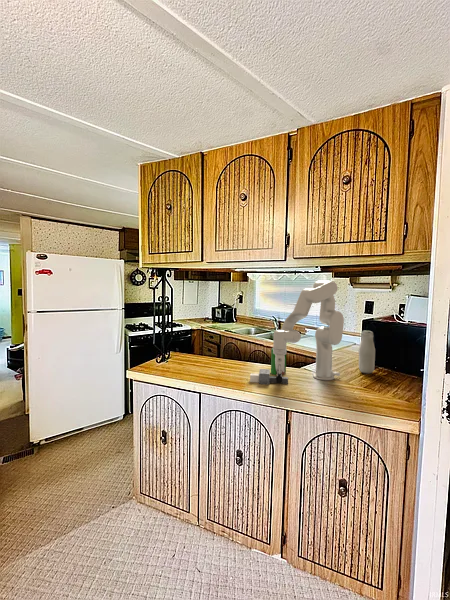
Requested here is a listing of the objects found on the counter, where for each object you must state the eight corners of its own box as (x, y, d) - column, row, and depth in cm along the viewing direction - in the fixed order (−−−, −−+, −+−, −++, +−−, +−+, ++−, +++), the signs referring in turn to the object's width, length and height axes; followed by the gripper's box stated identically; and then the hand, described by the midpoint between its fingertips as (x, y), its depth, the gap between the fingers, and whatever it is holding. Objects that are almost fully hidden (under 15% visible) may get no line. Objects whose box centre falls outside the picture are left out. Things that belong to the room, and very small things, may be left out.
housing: (269, 379, 201) (269, 369, 201) (269, 384, 191) (269, 374, 191) (259, 378, 202) (259, 368, 202) (258, 384, 192) (259, 373, 192)
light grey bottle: (373, 371, 220) (374, 329, 218) (375, 375, 210) (377, 332, 209) (357, 370, 223) (358, 328, 221) (358, 374, 213) (360, 331, 211)
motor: (280, 375, 209) (280, 344, 207) (267, 373, 214) (268, 342, 213) (287, 372, 217) (288, 342, 215) (275, 370, 222) (276, 340, 221)
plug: (287, 381, 197) (287, 375, 196) (288, 383, 193) (288, 377, 192) (250, 379, 200) (250, 373, 200) (250, 381, 196) (250, 375, 196)
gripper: (286, 354, 186) (286, 386, 187) (285, 348, 202) (285, 378, 203) (273, 354, 187) (272, 386, 188) (273, 348, 203) (272, 377, 204)
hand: (279, 381), depth 195 cm, fingers closed on plug, 3 cm apart
